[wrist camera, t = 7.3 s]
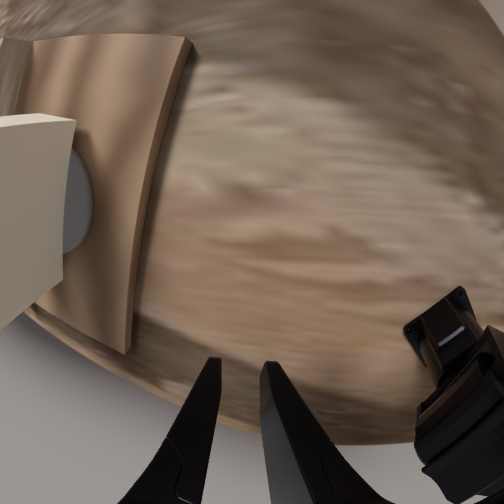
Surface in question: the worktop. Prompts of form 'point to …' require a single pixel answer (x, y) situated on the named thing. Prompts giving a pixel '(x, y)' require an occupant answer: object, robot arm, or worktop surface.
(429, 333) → the robot arm
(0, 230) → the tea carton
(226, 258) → the worktop surface
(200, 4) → the worktop surface
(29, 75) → the shelf board
